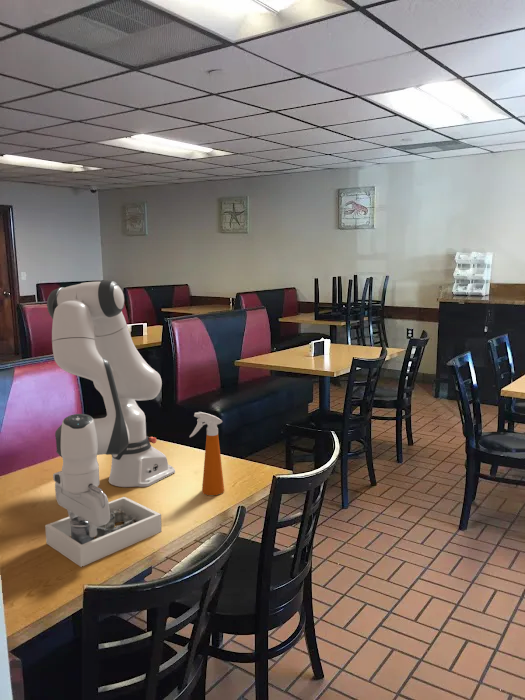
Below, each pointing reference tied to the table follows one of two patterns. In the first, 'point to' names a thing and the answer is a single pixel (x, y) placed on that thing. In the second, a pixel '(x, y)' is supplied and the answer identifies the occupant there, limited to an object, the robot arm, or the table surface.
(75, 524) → the metal tin
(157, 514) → the tote
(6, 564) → the table surface
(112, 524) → the egg carton
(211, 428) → the spray bottle
